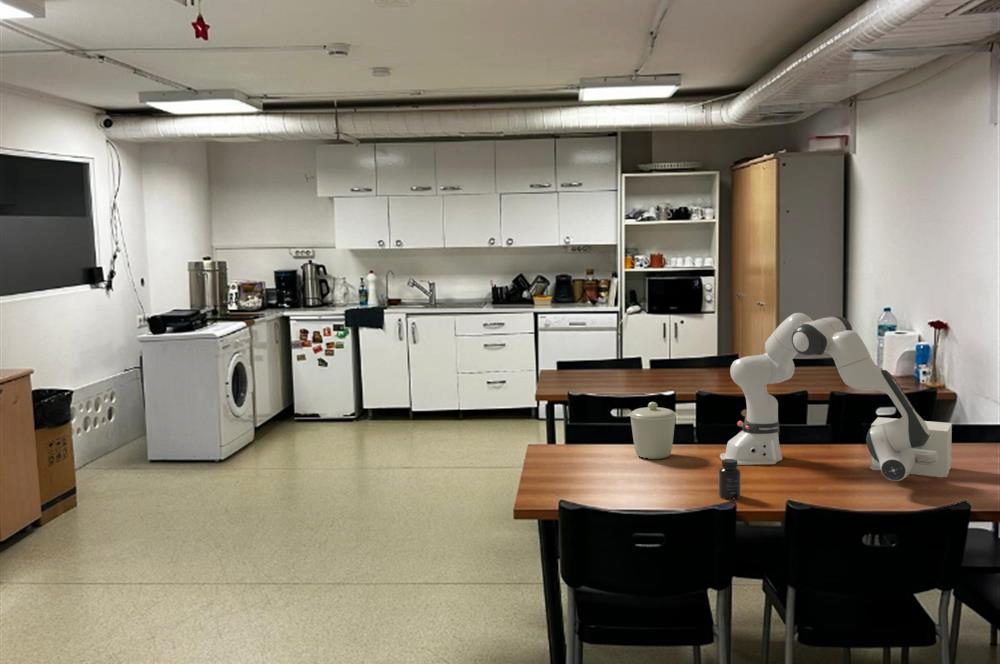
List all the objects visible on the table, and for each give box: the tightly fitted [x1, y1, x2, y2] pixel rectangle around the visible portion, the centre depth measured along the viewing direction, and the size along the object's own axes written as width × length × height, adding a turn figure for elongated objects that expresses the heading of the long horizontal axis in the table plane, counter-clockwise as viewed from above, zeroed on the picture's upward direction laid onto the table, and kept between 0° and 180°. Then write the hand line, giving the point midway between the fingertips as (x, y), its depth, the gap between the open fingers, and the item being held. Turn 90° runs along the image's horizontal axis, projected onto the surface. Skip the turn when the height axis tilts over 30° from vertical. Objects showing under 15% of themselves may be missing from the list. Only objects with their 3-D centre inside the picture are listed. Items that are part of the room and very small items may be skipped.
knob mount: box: [869, 416, 953, 479], centre depth 308 cm, size 14×24×16 cm, turn 58°
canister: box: [628, 401, 678, 460], centre depth 335 cm, size 18×18×21 cm
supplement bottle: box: [718, 459, 742, 500], centre depth 282 cm, size 7×7×12 cm
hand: (907, 449), depth 300 cm, fingers closed, pressing on knob
